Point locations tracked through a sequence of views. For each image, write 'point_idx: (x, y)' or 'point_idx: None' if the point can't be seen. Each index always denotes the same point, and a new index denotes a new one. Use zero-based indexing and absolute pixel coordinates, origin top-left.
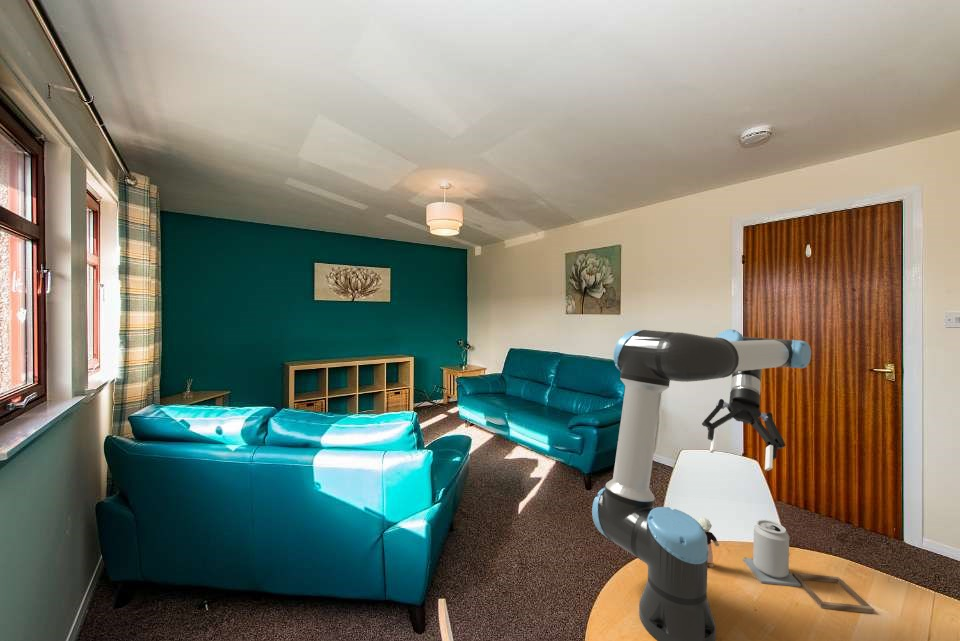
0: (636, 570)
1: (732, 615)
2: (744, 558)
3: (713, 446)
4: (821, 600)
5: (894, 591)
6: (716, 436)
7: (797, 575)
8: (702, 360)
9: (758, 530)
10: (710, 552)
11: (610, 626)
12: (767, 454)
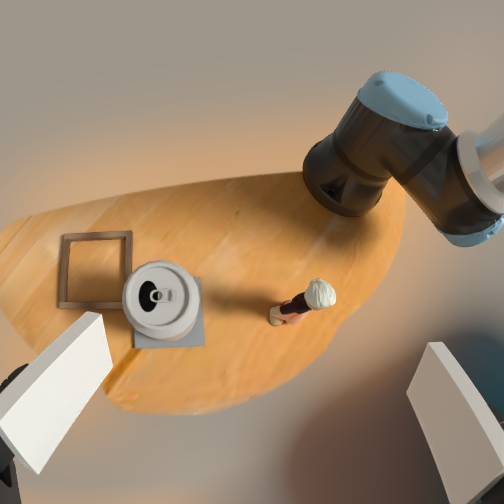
0: (384, 268)
1: (273, 198)
2: (203, 343)
3: (449, 354)
4: (126, 238)
5: (6, 293)
6: (477, 412)
7: None
8: None
9: (194, 290)
10: (285, 303)
11: None
12: (56, 404)
